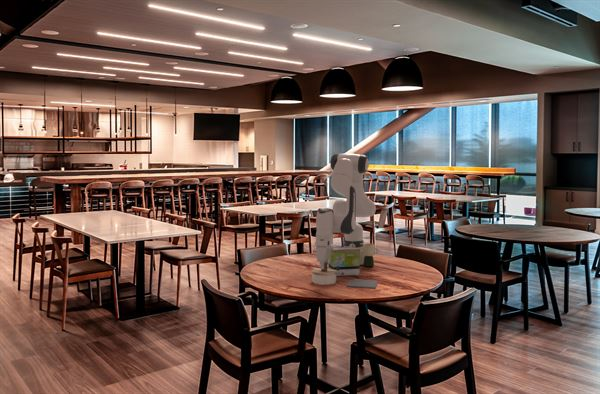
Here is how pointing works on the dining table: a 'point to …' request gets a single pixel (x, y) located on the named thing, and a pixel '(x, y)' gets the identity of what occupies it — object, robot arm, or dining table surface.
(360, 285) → the mat
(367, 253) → the character mug
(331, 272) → the lid
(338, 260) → the tea box
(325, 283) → the bowl
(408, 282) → the dining table surface
